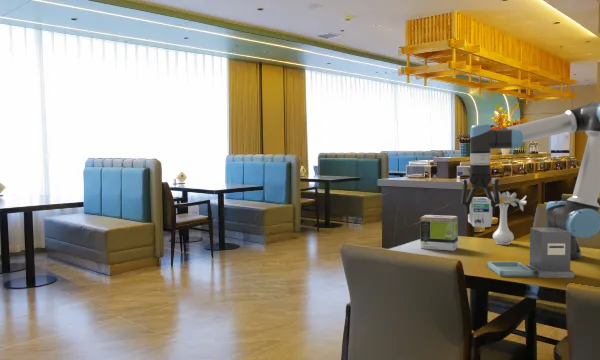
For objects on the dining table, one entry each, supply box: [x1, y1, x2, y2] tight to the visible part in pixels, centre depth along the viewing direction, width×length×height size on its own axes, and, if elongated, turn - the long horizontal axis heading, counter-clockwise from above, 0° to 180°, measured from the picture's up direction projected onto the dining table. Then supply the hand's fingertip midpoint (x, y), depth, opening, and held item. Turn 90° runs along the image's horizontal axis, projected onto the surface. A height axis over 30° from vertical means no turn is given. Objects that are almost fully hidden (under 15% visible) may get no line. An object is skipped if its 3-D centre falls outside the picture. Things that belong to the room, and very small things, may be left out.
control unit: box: [525, 227, 575, 279], centre depth 184 cm, size 12×12×16 cm
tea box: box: [419, 214, 459, 252], centre depth 232 cm, size 15×10×15 cm, turn 62°
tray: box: [486, 261, 536, 278], centre depth 188 cm, size 12×15×2 cm
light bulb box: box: [470, 196, 492, 228], centre depth 201 cm, size 11×7×11 cm, turn 169°
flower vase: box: [490, 190, 527, 246], centre depth 241 cm, size 13×18×25 cm
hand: (480, 222), depth 201 cm, fingers closed on light bulb box, 7 cm apart
